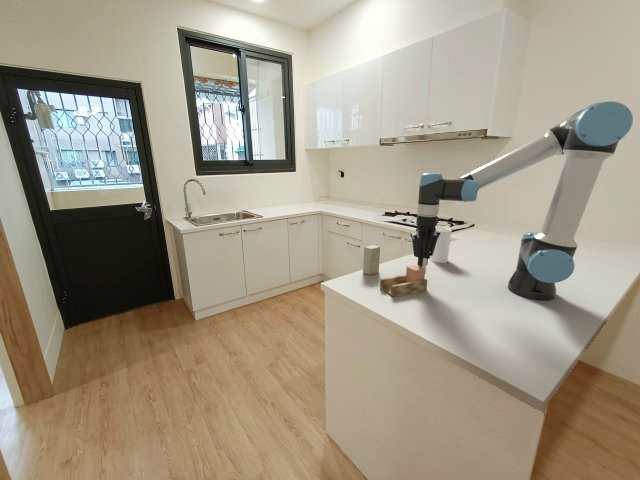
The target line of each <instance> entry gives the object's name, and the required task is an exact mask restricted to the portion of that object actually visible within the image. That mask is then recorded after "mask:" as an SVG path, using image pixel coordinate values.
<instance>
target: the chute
mask: <svg viewBox="0 0 640 480" xmlns="http://www.w3.org/2000/svg"><path fill="white" fill-rule="evenodd" d="M405 281H406V273H405V274H399V275H394V276H389V277H388V276H387V277H383V278H380V281H379V282H380V284H379V289H380V290H381V291H383V292H385V293H386V294H388V295H389V296H390V297H392V298H394V297H399V296H400V297H401V296H404V295H409V294H413V293H418V292H422V291H427V288H428V279H426V278H425V279H423V280H418V281H412V282H407V283H405Z"/></svg>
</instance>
